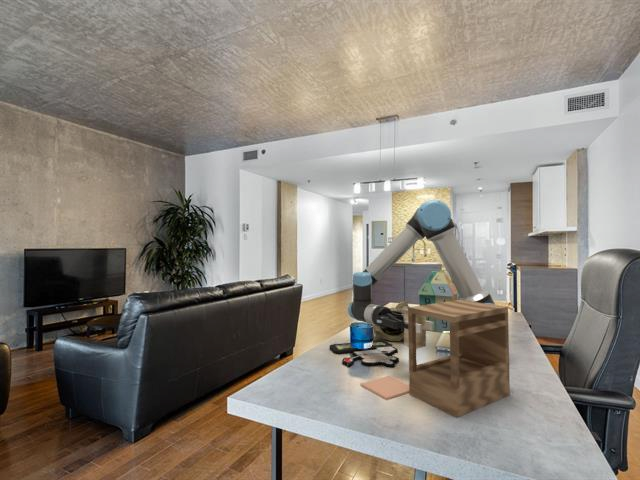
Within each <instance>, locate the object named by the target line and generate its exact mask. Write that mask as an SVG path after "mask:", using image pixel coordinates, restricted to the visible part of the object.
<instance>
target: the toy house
mask: <svg viewBox="0 0 640 480" xmlns="http://www.w3.org/2000/svg"><path fill="white" fill-rule="evenodd" d="M417 295H418V297H419V298H418V299H419V306H421V305H428V304H435V303H442V302H448V301H455V300H458V295H459V294H458V292H457V290H456V288H455V286H454V284H453V282H452V280H451V278H450V276H449V275H448V274H447V273H446V272H445V270H444V269H437V270H435V271H434V270H433V271H432V270H431V271H430V273H429V275H428V276H427V278H426V279H425V281H424V282H423V284H422V286H421V287H420V289H419V290H418V292H417ZM426 321H430V322H434V331H431V330H427V329H426V332H433V333H441V334H443V333H442V332H443V331H450V322H449V321H445V320H440V319H435V318H431V317H426Z"/></svg>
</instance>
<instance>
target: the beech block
mask: <svg viewBox="0 0 640 480" xmlns="http://www.w3.org/2000/svg"><path fill="white" fill-rule="evenodd" d="M405 321H408V309H404V323H405ZM416 323H417V324H421V325H422V333H416V350H417V349H420V348H425V347H427V331H426V316H422V315H417V314H416ZM403 345H404V346H405V347H408V348H409V334H408V330H406V329H405V328H404V339H403Z"/></svg>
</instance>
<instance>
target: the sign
mask: <svg viewBox="0 0 640 480" xmlns="http://www.w3.org/2000/svg"><path fill="white" fill-rule="evenodd" d="M372 341H373V345H372V347H371V348H368V349H358V348H353V347H352V346H351V343H352V342H344V343H335V344H332V343H331V344H330V345H329V350H330V352H332V353H333V354H335V355H339V356H340V355H347V354H348V355H350V354H352V357H343V358H342V359H341V361H342V362H341V365H342V366H345V367H346V368H348V369H349V368H351V367H353V365H354V364H355V362H358V361H360V363H361V366H363V367H368V368H370V367H371V368H372V367H373V368H374V367H385V368H388V369H393V368H394V369H395V367H396V364H399V362H400V359H399V357H398V356H395V354H398V352H399V350H398V348H397V347H395V346H393V344H392V343H390V342H388V340H385V339H376V340H372Z"/></svg>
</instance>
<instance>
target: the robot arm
mask: <svg viewBox="0 0 640 480" xmlns="http://www.w3.org/2000/svg"><path fill="white" fill-rule="evenodd" d="M455 229H456V225H455V223H454V221H453V219H452V212H451V209H450V207H449V206H448V205H447V204H446V202H444V201H442V200H439V199H429V200H427V201H425V202H424V203H422V204H420V206H419V207H418V208H417V209H416V211H415V212H414V213H413V215H412V217H410V219H409V220H408V221H407V222H406V223H405V227H404V229H403V230H402V231H401V232H400V233H399V234H397V236H396V237H395V238H394V239H393V240H392V241H391V242H390V243H389V244H388V245H387V246H386V247H385V248H384V249H383V250H382V251H381V253H380V254H378V255H377V257H375V259H373V261H372V262H371V263H370V264H369V265H367V267H366V268H365V269H364V270H363V271H361V272H354V273H353V274H352V301H351V302H350V303H349V304H348V307H347V312H348V315H349V316H350V317H351V318H352V319H354V320H356V321H359V322H363V323H367V324H370V325H372V324H373V326H375V325H377V326H380V327H389V328H393V329H396V330H398V329H399V328H400V329H401V331H404V328H405V329H406V330H408V321H405V323H404V313H402V314H397V313H392V311H391V310H390V309H389V308H390V307H387V306H383V305H379V304H373V303H372V301H373V297H372V295H373V294H372V293H373V292H372V291H373V287H374V286H375V285H376V283H377V282H379V280H380V279H382V277H384V276H385V274H387V272H388V271H389V270H390V269H391V268H392V267H393V266H394V265H395V264H396V263H397V262H398V261H399V260H400V259H401V258H403V257H404V256H405V254H406V253H407V252H408V251H409V250H410V249H411V248H412V247H413V246H414V245H415V244H416V243H417V242H418V241H419V240H424V238H425V239H426V240H427V241H430V242H431V243H432V244H433V245H434V248H435V250H436V252H437V253H438V256H439V257H440V260H441V261H442V264H443V266H444V268H445V271H447V273H448V274H447V275H448V277H449V279H450V280H451V281H452V283H453V284H454V286H455V288H456V290H457V292H458V294H457V300H465V301H472V302H479V303H485V304H492V305H496V304H495V301H494V300H493V297H492V295H491V294H490V292H489V291H488V290H485V289H483V287H482V285H481V283H480V282H479V280H478V278H477V276H476V274H475V271H474V270H473V267H472V265H471V263H470V261H469V260H468V258H467V256H466V254H465V252H464V249H463V248H462V246H461V244H460V242H459V240H458V238H457V236H456V234H455ZM426 329H427V330H431V331H434V322H430V321H426ZM431 331H430V332H431ZM416 333H422V325H421V324H417V323H416Z"/></svg>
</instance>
